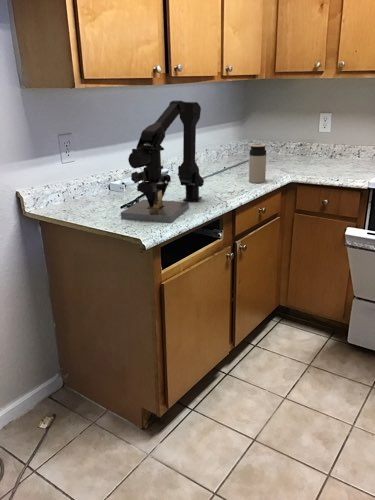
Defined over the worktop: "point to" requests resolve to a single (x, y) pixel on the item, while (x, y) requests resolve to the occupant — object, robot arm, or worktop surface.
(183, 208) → the post plate
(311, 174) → the worktop surface
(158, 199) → the brass peg
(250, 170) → the travel mug
